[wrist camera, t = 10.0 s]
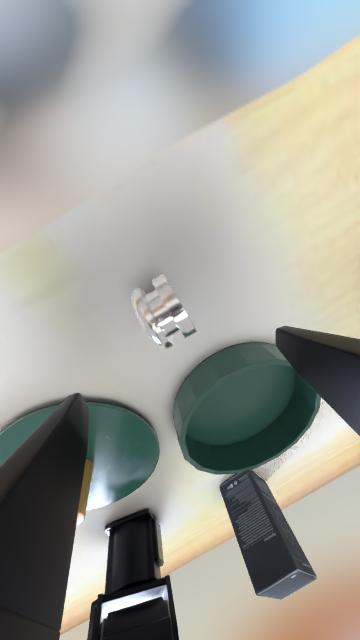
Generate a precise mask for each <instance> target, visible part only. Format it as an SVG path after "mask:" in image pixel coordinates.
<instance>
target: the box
mask: <svg viewBox="0 0 360 640" xmlns="http://www.w3.org/2000/svg"><path fill="white" fill-rule="evenodd" d="M220 491H221V494H222V497H223V499H224V503H225V505H226V508H227V511H228V514H229V517H230V520H231V523H232V526H233V529H234V532H235V535H236V538H237V541H238V544H239V547H240V549H241V552H242V555H243V558H244V561H245V564H246V567H247V570H248V573H249V576H250V578H251V581H252V584H253V587H254V590H255V593H256V595H257V596H263V597H269V598H276V599H283V598H284V597H286V596H288V595H290V594H291V593H293V592H295V591H297V590H298V589H300V588H302V587H304V586H305V585H307V584H309V583H310V582H312V581H314V580H315V579H316V577H317V576H316V574H315V573H314V571H313V569H312V567H311V565H310V563H309V561H308V560H307V558H306V556H305V554H304V552H303V550H302V549H301V547H300V545H299V543H298V541H297V540H296V537H295V536H294V534H293V532H292V530H291V528H290V526H289V524H288V523H287V521H286V519H285V517H284V515H283V514H282V511H281V509H280V508H279V506H278V504H277V502H276V500H275V498H274V496H273V495H272V493H271V491H270V489H269V487H268V485H267V484H266V483H265V482H264V481H263V480H262V479H261V478H259V477H258V476H257V475H256V474H255V473H253V472H252V471H251V470H247V471H243V472H240V473H238V474H236V475H235V476H234V477H232V478H231V479H229V480H228V481H226V482H225V483H223V484H222V485H220Z"/></svg>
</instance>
